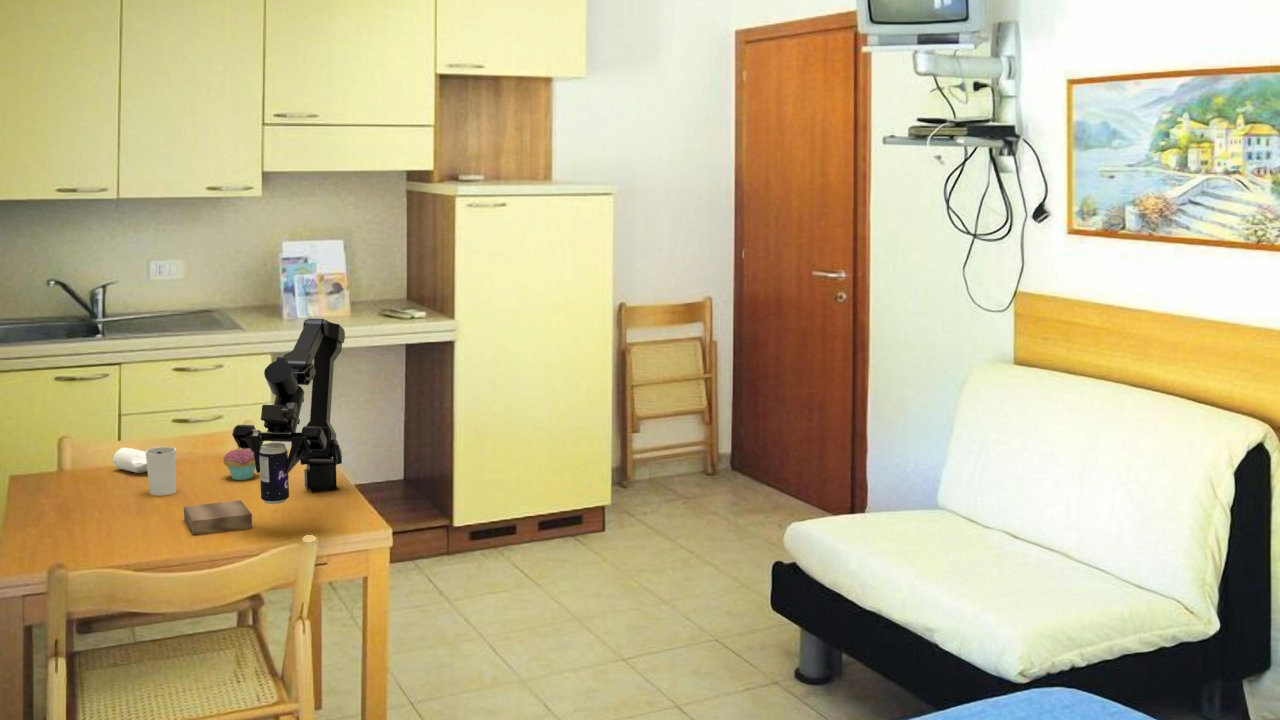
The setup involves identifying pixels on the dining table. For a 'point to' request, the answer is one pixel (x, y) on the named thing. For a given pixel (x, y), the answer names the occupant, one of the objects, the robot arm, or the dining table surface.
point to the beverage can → (273, 473)
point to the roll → (130, 460)
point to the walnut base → (217, 517)
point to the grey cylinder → (161, 470)
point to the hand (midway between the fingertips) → (272, 472)
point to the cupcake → (240, 463)
